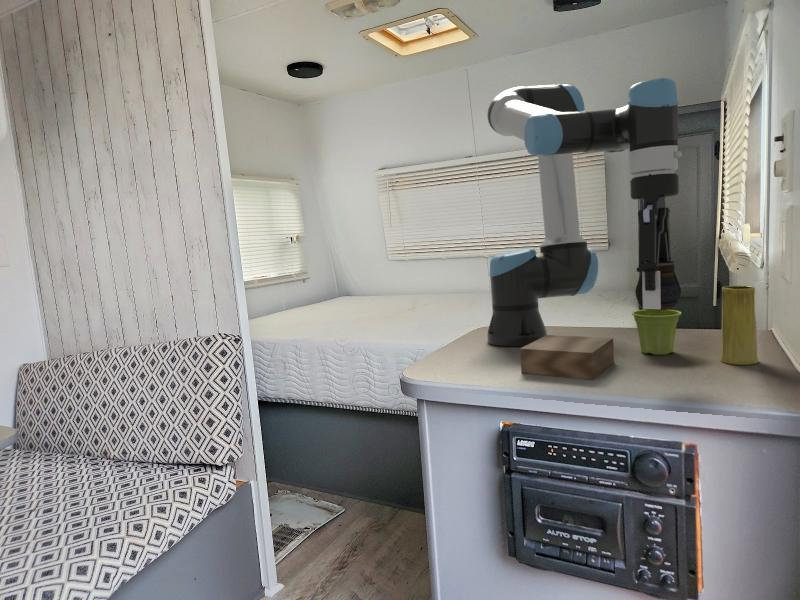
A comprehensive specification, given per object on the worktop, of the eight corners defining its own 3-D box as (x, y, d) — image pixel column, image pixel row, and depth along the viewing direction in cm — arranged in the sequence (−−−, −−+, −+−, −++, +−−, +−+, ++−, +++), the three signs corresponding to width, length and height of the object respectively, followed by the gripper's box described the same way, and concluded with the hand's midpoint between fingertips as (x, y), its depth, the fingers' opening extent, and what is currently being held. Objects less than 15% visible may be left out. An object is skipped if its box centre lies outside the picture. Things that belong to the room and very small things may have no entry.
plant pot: (671, 346, 116) (670, 307, 115) (690, 355, 106) (689, 313, 105) (627, 348, 117) (625, 310, 116) (642, 358, 107) (641, 316, 106)
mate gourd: (649, 313, 89) (647, 255, 88) (627, 308, 97) (624, 254, 96) (689, 309, 90) (688, 251, 88) (664, 304, 97) (662, 250, 96)
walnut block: (521, 373, 104) (520, 348, 103) (547, 357, 115) (546, 335, 114) (593, 379, 95) (592, 352, 95) (614, 361, 106) (613, 337, 106)
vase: (729, 366, 97) (728, 290, 95) (714, 358, 103) (713, 286, 101) (765, 364, 96) (764, 287, 94) (748, 357, 102) (747, 284, 100)
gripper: (666, 168, 80) (669, 315, 83) (687, 174, 96) (689, 297, 99) (615, 175, 85) (619, 314, 87) (643, 179, 100) (646, 297, 103)
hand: (656, 305), depth 93 cm, fingers closed on mate gourd, 7 cm apart
